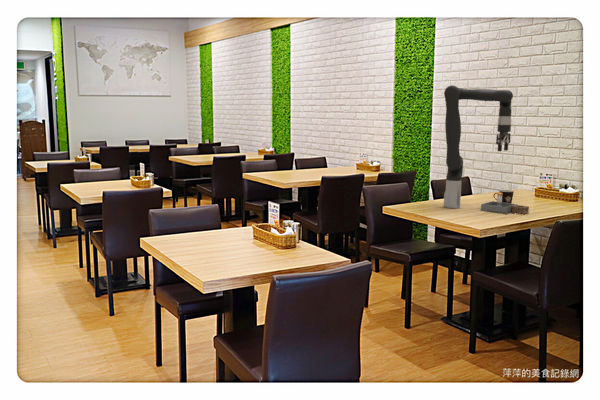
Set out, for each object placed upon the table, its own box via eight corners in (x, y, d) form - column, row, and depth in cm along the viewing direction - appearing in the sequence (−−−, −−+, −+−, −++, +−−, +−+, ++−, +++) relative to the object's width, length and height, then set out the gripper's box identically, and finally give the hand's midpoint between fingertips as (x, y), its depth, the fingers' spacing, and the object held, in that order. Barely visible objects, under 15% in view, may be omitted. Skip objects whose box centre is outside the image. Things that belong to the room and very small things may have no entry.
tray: (480, 210, 335) (481, 204, 334) (492, 207, 345) (492, 201, 344) (506, 214, 324) (506, 207, 323) (517, 210, 334) (517, 204, 333)
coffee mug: (513, 205, 351) (514, 190, 349) (512, 208, 343) (513, 192, 341) (494, 204, 356) (495, 189, 354) (492, 206, 348) (493, 191, 346)
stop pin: (495, 209, 334) (496, 192, 332) (497, 208, 336) (498, 192, 335) (500, 209, 332) (501, 193, 330) (502, 209, 334) (503, 192, 333)
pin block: (511, 213, 327) (512, 206, 326) (516, 211, 332) (517, 205, 331) (523, 214, 322) (524, 207, 321) (528, 213, 327) (528, 206, 326)
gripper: (503, 123, 338) (501, 149, 341) (493, 124, 328) (491, 151, 331) (515, 123, 333) (513, 150, 335) (505, 124, 323) (503, 151, 325)
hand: (502, 150), depth 333 cm, fingers open, 8 cm apart
